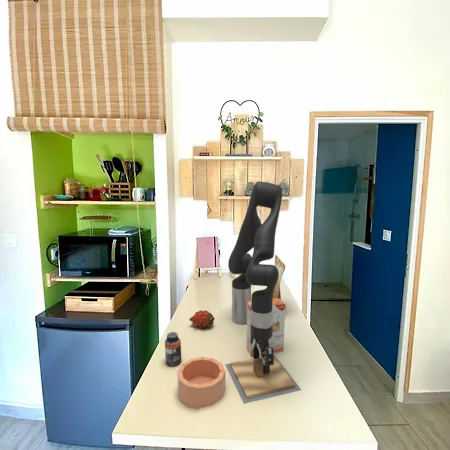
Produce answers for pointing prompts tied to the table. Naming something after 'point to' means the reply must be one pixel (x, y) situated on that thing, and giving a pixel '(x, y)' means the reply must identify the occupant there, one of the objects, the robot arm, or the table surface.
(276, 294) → the pancake mix bag
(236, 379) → the mat
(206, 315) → the dragon fruit
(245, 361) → the board
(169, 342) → the supplement bottle
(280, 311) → the cracker box
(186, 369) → the bowl
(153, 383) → the table surface
